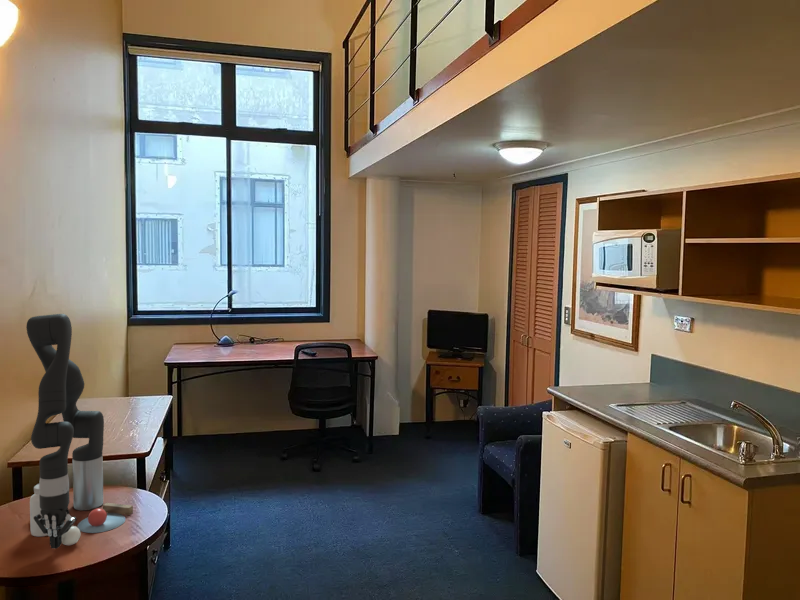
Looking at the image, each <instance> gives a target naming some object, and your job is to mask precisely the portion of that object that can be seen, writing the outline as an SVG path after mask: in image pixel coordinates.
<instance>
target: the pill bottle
mask: <svg viewBox="0 0 800 600" xmlns="http://www.w3.org/2000/svg"><path fill="white" fill-rule="evenodd" d="M33 493H34V494H32V495H31V496H30V499H29V521H30V522H29V523H30V525H29V526H30V535H31V536H32V537H33V536H34V537H45V536H46V537H47V536H48V534H47V533H46V534H44V533H43V532H42V530H41V529H40V528H39V526H38V525H37V523H36V522H35V520H34V516H36V515H38V514H40V511H41V508H40V500H39V483H37V484H36V485H34V486H33ZM44 526H45V525H44ZM45 528H46V526H45Z"/></svg>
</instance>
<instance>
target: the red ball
mask: <svg viewBox="0 0 800 600" xmlns="http://www.w3.org/2000/svg"><path fill="white" fill-rule="evenodd" d="M87 518H88V522H89V524H90V525H92V526H100V525H102V524H103V523H104V522H105V521H106V519H107V513H106V511H105V510H103V508H102V507H101V508H100V507H97V508H94V509H91V510H90V512H89V514H88V516H87Z"/></svg>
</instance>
